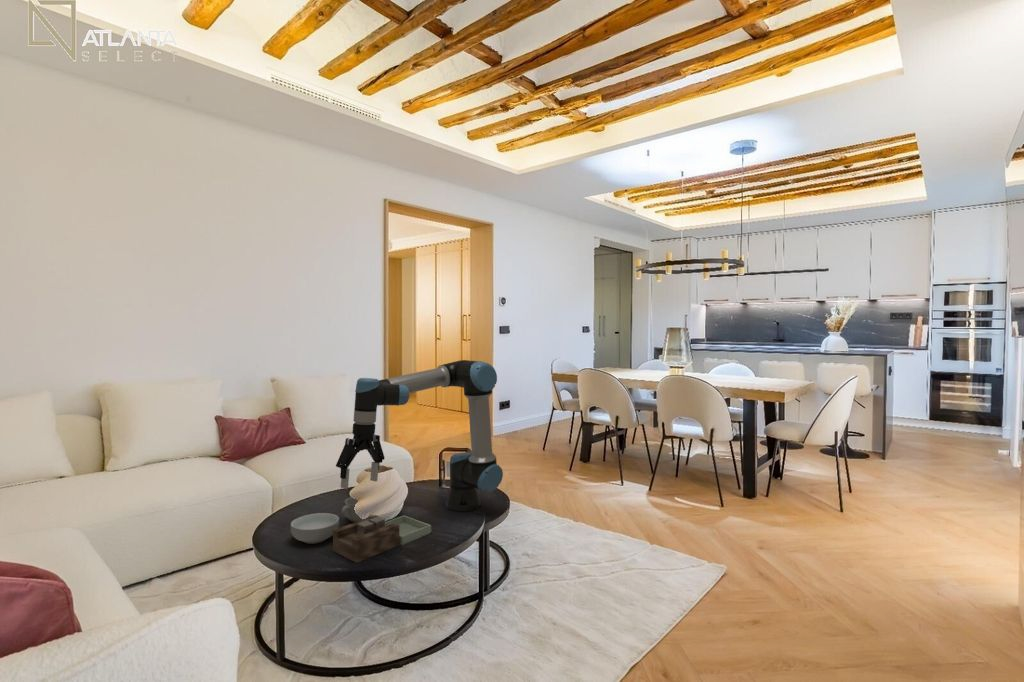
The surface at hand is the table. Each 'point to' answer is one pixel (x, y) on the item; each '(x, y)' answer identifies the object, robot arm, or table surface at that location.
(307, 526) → the cereal bowl
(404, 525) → the tray
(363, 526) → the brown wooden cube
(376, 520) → the grey cube
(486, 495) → the table surface
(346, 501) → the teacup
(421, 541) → the table surface
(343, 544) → the slot block
